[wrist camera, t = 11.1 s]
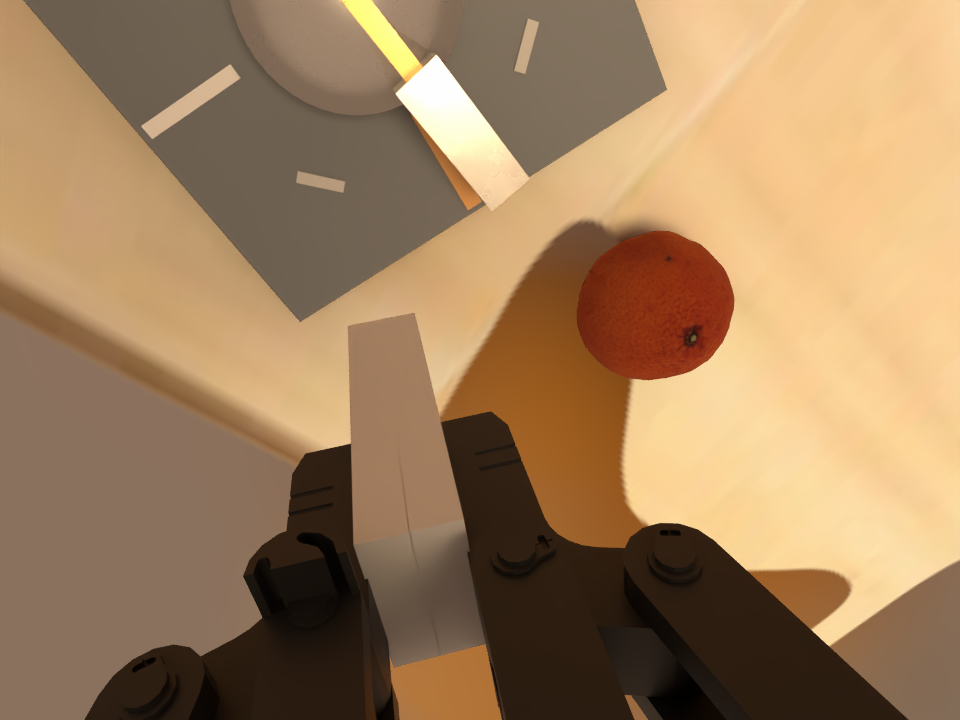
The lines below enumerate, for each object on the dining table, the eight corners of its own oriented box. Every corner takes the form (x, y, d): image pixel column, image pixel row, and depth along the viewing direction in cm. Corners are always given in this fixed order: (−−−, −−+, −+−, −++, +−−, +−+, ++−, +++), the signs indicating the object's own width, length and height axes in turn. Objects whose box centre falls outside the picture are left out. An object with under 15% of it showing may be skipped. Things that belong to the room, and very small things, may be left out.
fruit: (706, 215, 39) (784, 260, 32) (676, 341, 43) (739, 404, 37) (572, 214, 37) (624, 261, 31) (554, 345, 42) (596, 412, 35)
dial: (182, -29, 27) (159, -34, 24) (350, -209, 25) (351, -243, 22) (425, 236, 35) (434, 261, 31) (566, 113, 33) (592, 125, 30)
